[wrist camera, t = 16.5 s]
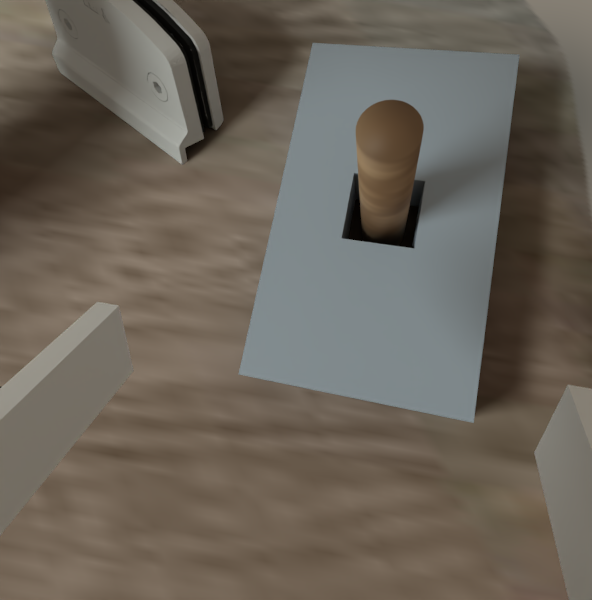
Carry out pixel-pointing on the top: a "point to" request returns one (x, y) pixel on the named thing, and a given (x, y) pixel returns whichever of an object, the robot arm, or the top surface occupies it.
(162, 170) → the top surface
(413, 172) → the peg
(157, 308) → the top surface
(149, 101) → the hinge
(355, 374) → the hole block
